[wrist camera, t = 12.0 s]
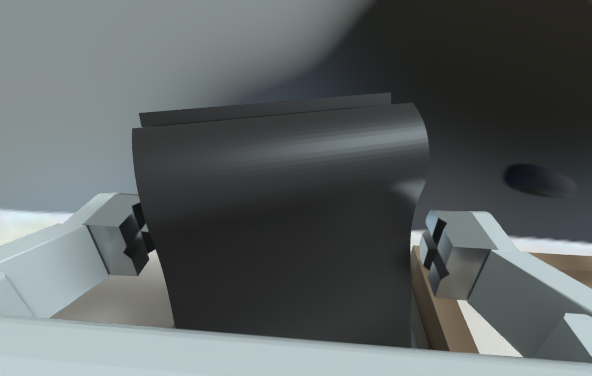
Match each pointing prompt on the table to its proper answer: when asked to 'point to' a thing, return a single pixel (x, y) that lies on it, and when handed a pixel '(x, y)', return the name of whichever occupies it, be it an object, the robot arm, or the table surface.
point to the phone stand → (286, 215)
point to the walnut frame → (447, 314)
